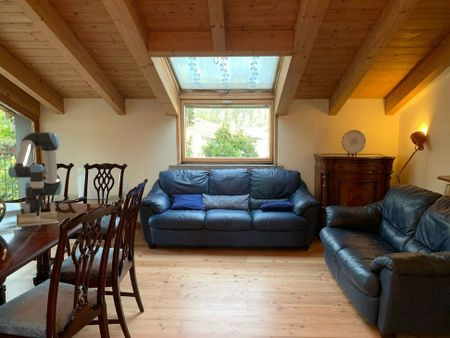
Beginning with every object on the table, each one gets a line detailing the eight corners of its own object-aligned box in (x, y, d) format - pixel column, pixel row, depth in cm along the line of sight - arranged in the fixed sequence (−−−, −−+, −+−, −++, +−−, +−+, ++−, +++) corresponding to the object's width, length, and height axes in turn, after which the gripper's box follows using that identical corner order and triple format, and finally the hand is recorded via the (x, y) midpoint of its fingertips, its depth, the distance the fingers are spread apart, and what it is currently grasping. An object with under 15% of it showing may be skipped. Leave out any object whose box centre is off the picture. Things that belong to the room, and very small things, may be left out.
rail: (17, 223, 206) (17, 214, 206) (58, 219, 218) (58, 211, 218) (16, 224, 203) (16, 215, 202) (58, 220, 215) (58, 212, 214)
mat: (17, 223, 209) (17, 222, 209) (58, 219, 221) (58, 218, 221) (16, 227, 200) (16, 226, 200) (58, 222, 212) (58, 222, 212)
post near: (23, 219, 219) (22, 203, 219) (31, 218, 222) (31, 203, 221) (22, 221, 214) (22, 205, 213) (31, 220, 217) (30, 204, 216)
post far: (49, 217, 227) (48, 202, 226) (57, 216, 230) (56, 201, 229) (49, 219, 222) (48, 203, 221) (57, 218, 225) (56, 202, 224)
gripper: (31, 185, 217) (32, 215, 219) (29, 190, 196) (30, 223, 198) (43, 184, 221) (44, 214, 223) (43, 189, 200) (44, 221, 201)
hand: (38, 218), depth 210 cm, fingers open, 13 cm apart
